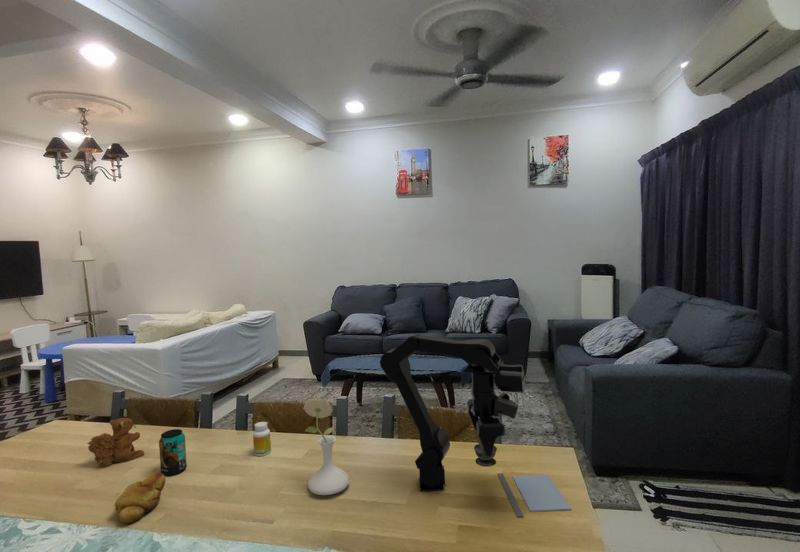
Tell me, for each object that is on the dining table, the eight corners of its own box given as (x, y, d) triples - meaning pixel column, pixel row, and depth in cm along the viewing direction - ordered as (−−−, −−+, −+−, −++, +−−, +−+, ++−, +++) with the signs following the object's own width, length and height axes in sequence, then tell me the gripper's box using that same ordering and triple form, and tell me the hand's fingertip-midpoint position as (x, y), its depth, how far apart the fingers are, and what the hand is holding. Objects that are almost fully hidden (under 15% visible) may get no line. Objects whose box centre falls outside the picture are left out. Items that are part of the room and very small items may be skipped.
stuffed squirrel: (147, 454, 143) (144, 416, 142) (100, 473, 131) (96, 431, 130) (132, 448, 148) (129, 411, 147) (85, 466, 136) (82, 425, 136)
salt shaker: (499, 466, 108) (498, 420, 107) (476, 467, 108) (475, 421, 107) (494, 455, 114) (492, 411, 113) (472, 457, 113) (470, 412, 113)
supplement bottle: (268, 456, 138) (266, 427, 137) (251, 456, 138) (249, 427, 137) (273, 448, 143) (271, 420, 143) (257, 449, 143) (255, 421, 143)
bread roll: (140, 527, 103) (137, 495, 103) (101, 528, 104) (98, 496, 103) (170, 497, 116) (168, 468, 116) (135, 497, 116) (133, 469, 116)
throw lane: (517, 517, 101) (517, 516, 101) (497, 474, 121) (497, 473, 121) (574, 515, 101) (574, 513, 101) (545, 472, 121) (545, 471, 121)
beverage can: (155, 474, 129) (153, 436, 128) (175, 464, 135) (173, 427, 134) (172, 478, 126) (169, 439, 125) (192, 467, 132) (189, 429, 132)
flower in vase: (357, 481, 120) (353, 394, 119) (334, 503, 110) (330, 408, 109) (319, 473, 126) (315, 390, 124) (294, 493, 115) (289, 403, 114)
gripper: (525, 400, 100) (527, 464, 101) (505, 377, 119) (507, 432, 120) (478, 402, 100) (480, 466, 101) (465, 379, 119) (467, 433, 120)
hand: (485, 448), depth 110 cm, fingers closed on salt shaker, 8 cm apart
